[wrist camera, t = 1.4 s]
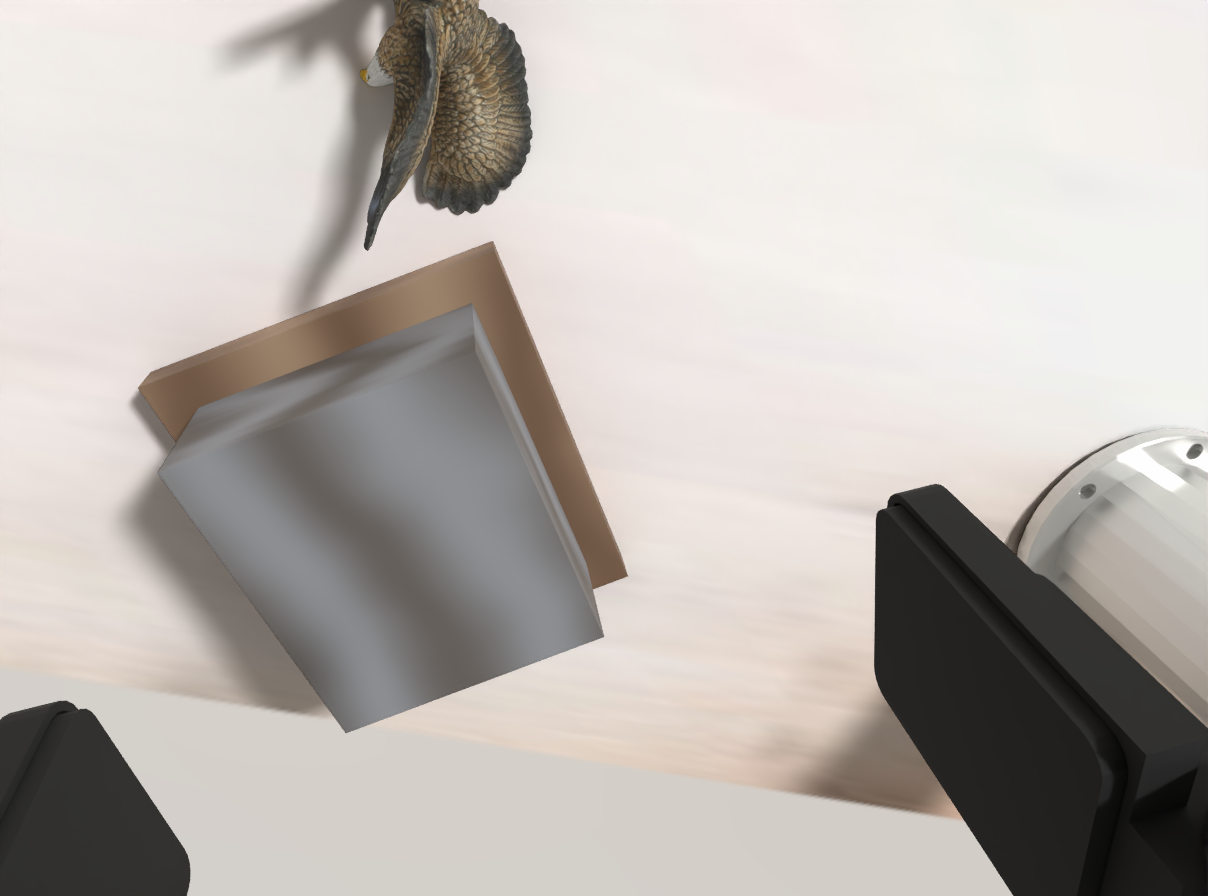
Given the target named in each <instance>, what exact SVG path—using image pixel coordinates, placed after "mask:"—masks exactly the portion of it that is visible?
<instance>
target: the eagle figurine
mask: <svg viewBox="0 0 1208 896" xmlns="http://www.w3.org/2000/svg"><path fill="white" fill-rule="evenodd" d="M393 2H394V5H395V13H396V18H395V24H394V25H393V26H391V27H390V28H389V29H388V30H387V32H386V33H385V35H384V36H383V38H382V40H381V42H380V44H379V47H378V49H377V51H376V54H375V56H374V58H373V60H372V62H371V63H370V65H369V66H368V69H366V70H361V71H360V76H361V78H362V79H363V80H364V81H365V82H367V83H368V84H369V85H370V86H386V85H389V84H392V83H393V82H394V95H395V98H394V112H393V119H392V124H391V127H390V130H389V134H388V137H387V141H386V144H385V149H384V154H383V163H382V168H381V176H380V178H379V181H378V183H377V186H376V188H375V191H374V194H373V197H372V200H371V203H370V206H369V210H368V216H367V222H368V226H367V231H366V237H365V242H364V248H365V249H366V250H367V251H368V250H369V248H370V247H371V246H372V243H373V241H374V237H375V234H376V231H377V227H378V225H379V222H380V220H381V217H382V215H383V213H384V211H385V210H386V208H387V207H388V205H389V203H390V202H391V201H392V200H393V199H394V198H395V197H396V196H397V195H398V194H399V193H400V192H401V190H402V189H403V188H404V186H405V184H406V183H407V181H408V179H409V178H410V177H411V176H412V174H413V173H414V171H415V170H416V168H417V167H418V165H419V162H420V160H421V158H422V155H423V152H424V148H425V147H426V145H427V141H428V139H429V137H430V134H431V140H432V144H431V152H430V155H429V159H428V162H427V165H426V168H425V175H424V178H423V182H422V195H423V197H425V198H427V199H430V198H432V199H433V200H434V201H435V203H436V205H437V206H438V207H440V208H442V207H446V206H450V208H451V210H452V211H453V212H454V213H456V214H462V213H463V212H464V211H465V210H466V211H468V212H469V213H476V212H477V211H479V209H480V208H481V206H482V205H483V203H487V204H492V203H493V202H494V201H495V200H496V199H497V196H498V194H499V188H500V187H501V186H502V187H504V188H507V187H509V186H510V185H511V181H512V177H513V176H517V175H519V174H520V173H521V171H522V167H523V166H524V164H525V162H526V155H527V154H528V153H529V152H530V147H531V146H530V140H531V139H532V130H531V128H530V125H531V118H530V116H531V111H530V109H529V107H528V106H527V103H528V101H529V99H528V94H527V83H526V81H525V79H524V77H525V75H526V68H525V58H524V56H523V55H522V50H521V47H520V45H519V44H518V43H517V42H516V39H515V34H514V32H513V31H512V30H510V29H509V28H508V26H507V25H506V24H505V23H502V24H498V22H497V21H496V19H494V18H493V17H489V18H487V15H486V13H485V12H484V11H483V10H480V9H478V5H479V0H393Z"/></svg>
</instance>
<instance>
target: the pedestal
mask: <svg viewBox="0 0 1208 896" xmlns="http://www.w3.org/2000/svg"><path fill="white" fill-rule="evenodd" d="M138 389H139V390H140V391H141V393H142V394H143V396H144V397H145V399H146V400H147V402H148V403H149V404H150V406H151V407H152V409H153V410H154V412H155V413H156V415H157V416H158V417H159V419H160V420H161V422H162V423H163V425H164V426H165V427H166V429H167V430H168V432H169V433H170V435H171V436H172V438H173V439H174V440H175V442H176V444H175V446H174V447H173V449H172V450H171V452H170V454H169V455H168V457H167V458H166V460H165V462H164V463H163V465H162V466H161V468H160V469H159V471H158V474H159V476H160V477H161V478H162V480H163V481H164V483H165V484H166V485H167V487H168V488H169V489H170V491H171V492H172V494H173V495H174V496H175V498H176V499H177V501H178V502H179V503H180V505H181V506H182V507H183V509H184V510H185V512H186V513H187V514H188V516H189V517H190V519H191V520H192V521H193V523H194V524H195V525H196V527H197V528H198V530H199V531H200V532H201V534H202V535H203V536H204V538H205V539H206V541H207V542H208V543H209V545H210V546H211V548H212V549H213V550H214V552H215V553H216V554H217V556H218V557H219V559H220V560H221V561H222V563H223V564H224V566H225V567H226V568H227V570H228V571H229V572H230V574H231V575H232V577H233V578H234V579H235V581H236V582H237V583H238V585H239V586H240V588H241V589H242V590H243V592H244V593H245V595H246V596H247V597H248V599H249V600H250V601H251V603H252V604H253V606H254V607H255V608H256V610H257V611H258V612H259V614H260V615H261V617H262V618H263V619H264V621H265V622H266V624H267V625H268V626H269V628H270V629H271V630H272V632H273V633H274V635H275V636H276V637H277V639H278V640H279V642H280V643H281V644H282V646H283V647H284V648H285V650H286V651H287V653H288V654H289V655H290V657H291V658H292V659H293V661H294V662H295V664H296V665H297V666H298V668H299V669H300V671H301V672H302V673H303V675H304V676H305V677H306V679H307V680H308V682H309V683H310V684H311V686H312V687H313V689H314V690H315V691H316V693H317V694H318V695H319V697H320V698H321V700H322V701H323V702H324V704H325V705H326V706H327V708H328V709H329V711H330V712H331V713H332V715H333V716H334V718H335V719H336V720H337V722H338V723H339V724H340V726H341V727H342V729H343V730H344V731H345V733H348V732H351V731H353V730H356V729H359V728H361V727H364V726H367V725H369V724H372V723H375V722H377V721H380V720H383V719H385V718H388V717H391V716H393V715H396V714H399V713H402V712H404V711H407V710H410V709H412V708H415V707H418V706H420V705H423V704H426V703H428V702H431V701H434V700H436V699H439V698H442V697H444V696H447V695H450V694H452V693H455V692H458V691H460V690H463V689H466V688H468V687H471V686H474V685H476V684H479V683H482V682H485V681H487V680H490V679H493V678H495V677H498V676H501V675H503V674H506V673H509V672H511V671H514V670H517V669H519V668H522V667H525V666H527V665H530V664H533V663H535V662H538V661H541V660H543V659H546V658H549V657H551V656H554V655H557V654H559V653H562V652H565V651H568V650H570V649H573V648H576V647H578V646H581V645H584V644H586V643H589V642H592V641H594V640H597V639H600V638H602V637H604V635H603V630H602V626H601V622H600V618H599V614H598V610H597V605H596V601H595V597H594V593H593V589H595V588H598V587H600V586H603V585H606V584H608V583H611V582H614V581H616V580H619V579H622V578H624V577H627V576H628V575H627V572H626V569H625V565H624V562H623V559H622V556H621V554H620V551H619V549H618V546H617V544H616V541H615V539H614V536H613V534H612V532H611V529H610V527H609V524H608V522H607V519H606V517H605V514H604V512H603V510H602V507H601V505H600V502H599V500H598V497H597V495H596V492H595V490H594V487H593V485H592V483H591V480H590V478H589V475H588V473H587V470H586V468H585V465H584V463H583V461H582V458H581V456H580V453H579V451H578V448H577V446H576V443H575V441H574V439H573V436H572V434H571V431H570V429H569V426H568V424H567V421H566V419H565V416H564V414H563V412H562V409H561V407H560V404H559V402H558V399H557V397H556V394H555V392H554V390H553V387H552V385H551V382H550V380H549V377H548V375H547V372H546V370H545V367H544V365H543V363H542V360H541V358H540V355H539V353H538V350H537V348H536V345H535V343H534V341H533V338H532V336H531V333H530V331H529V328H528V326H527V323H526V321H525V318H524V316H523V314H522V311H521V309H520V306H519V304H518V301H517V299H516V296H515V294H514V292H513V289H512V287H511V284H510V282H509V279H508V277H507V274H506V272H505V270H504V267H503V265H502V262H501V260H500V257H499V255H498V252H497V250H496V247H495V245H494V243H493V241H492V242H489V243H486V244H484V245H481V246H479V247H476V248H473V249H471V250H468V251H465V252H463V253H460V254H458V255H455V256H452V257H450V258H447V259H445V260H442V261H439V262H437V263H434V264H432V265H429V266H426V267H424V268H421V269H419V270H416V271H413V272H411V273H408V274H405V275H403V276H400V277H398V278H395V279H392V280H390V281H387V282H385V283H382V284H379V285H377V286H374V287H372V288H369V289H366V290H364V291H361V292H359V293H356V294H353V295H351V296H348V297H346V298H343V299H340V300H338V301H335V302H332V303H330V304H327V305H325V306H322V307H319V308H317V309H314V310H312V311H309V312H306V313H304V314H301V315H299V316H296V317H293V318H291V319H288V320H286V321H283V322H280V323H278V324H275V325H272V326H270V327H267V328H265V329H262V330H259V331H257V332H254V333H252V334H249V335H246V336H244V337H241V338H239V339H236V340H233V341H231V342H228V343H226V344H223V345H220V346H218V347H215V348H212V349H210V350H207V351H205V352H202V353H199V354H197V355H194V356H192V357H189V358H186V359H184V360H181V361H179V362H176V363H173V364H171V365H168V366H166V367H163V368H160V369H158V370H155V371H153V372H151V373H150V374H149V375H148V376H147V377H146V379H145V380H144V381H143V382H142V384H141V385H140V386H139V387H138Z"/></svg>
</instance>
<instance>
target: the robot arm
mask: <svg viewBox="0 0 1208 896" xmlns="http://www.w3.org/2000/svg"><path fill="white" fill-rule="evenodd" d="M874 669H875V675H876V680H877V683H878V686H879V688H880V690H881V693H882V695H883V696H884V698H885V700H886V701H887V703H888V704H889V706H890V707H891V709H892V710H893V712H894V713H895V715H896V717H897V718H898V720H899V721H900V723H901V724H902V726H903V727H904V729H905V730H906V732H907V733H908V735H909V736H910V738H911V740H912V741H913V743H914V744H915V746H916V747H917V749H918V750H919V752H920V753H921V755H922V756H923V758H924V759H925V761H926V763H927V764H928V766H929V767H930V769H931V770H932V772H933V773H934V775H935V776H936V778H937V779H938V781H939V782H940V784H941V786H942V787H943V789H944V790H945V792H946V793H947V795H948V796H949V798H950V799H951V801H952V802H953V804H954V805H955V807H956V808H957V810H958V812H959V813H960V815H961V816H962V818H963V819H964V821H965V822H966V824H967V825H968V827H969V828H970V830H971V831H972V833H973V835H974V836H975V837H976V839H977V841H978V842H979V844H980V845H981V847H982V848H983V850H984V851H985V853H986V854H987V856H988V858H989V859H990V861H991V862H992V864H993V865H994V867H995V868H996V870H997V871H998V873H999V874H1000V876H1001V877H1002V879H1003V880H1004V882H1005V884H1006V885H1007V887H1008V888H1009V890H1010V891H1011V893H1012V894H1013V896H1208V434H1207V433H1204V432H1201V431H1196V430H1191V429H1186V428H1171V429H1159V430H1154V431H1149V432H1144V433H1139V434H1137V435H1134V436H1131V437H1129V438H1126V439H1123V440H1121V441H1118V442H1116V443H1114V444H1112V445H1110V446H1108V447H1106V448H1104V449H1103V450H1101V451H1099V452H1097V453H1095V454H1093V455H1092V456H1090V457H1089V458H1088V459H1086V460H1085V461H1084V462H1082V463H1081V464H1079V465H1078V466H1077V467H1075V468H1074V469H1073V470H1071V471H1070V472H1069V473H1068V474H1067V475H1066V476H1065V477H1064V478H1063V479H1062V480H1061V481H1060V482H1059V483H1058V484H1057V485H1055V486H1054V487H1053V489H1052V490H1051V491H1050V492H1049V494H1048V495H1047V496H1046V497H1045V499H1044V500H1043V501H1042V502H1041V503H1040V505H1039V506H1038V508H1037V509H1036V511H1035V513H1034V514H1033V516H1032V518H1031V519H1030V521H1029V523H1028V524H1027V526H1026V529H1025V531H1024V534H1023V536H1022V539H1021V541H1020V544H1019V547H1018V552H1017V556H1016V555H1015V554H1014V553H1013V552H1012V551H1011V550H1010V549H1009V548H1008V547H1007V546H1006V545H1005V544H1004V543H1003V542H1002V541H1001V540H1000V539H999V538H998V537H996V536H995V535H994V534H993V533H992V532H991V531H990V530H989V529H988V528H987V527H986V526H985V525H984V524H983V523H982V522H981V521H980V520H979V519H978V518H977V517H975V516H974V515H973V514H972V513H971V512H970V511H969V510H968V509H967V508H966V507H965V506H964V505H963V504H962V503H961V502H960V501H959V500H958V499H957V498H956V497H955V496H953V495H952V494H951V493H950V492H949V491H948V490H947V489H946V488H945V487H943V486H942V485H939V484H933V485H929V486H925V487H921V488H917V489H913V490H909V491H905V492H901V493H897V494H894V495H892V496H890V498H889V500H888V505H887V508H886V509H882V510H880V511H878V513H877V516H876V558H875V644H874ZM189 882H190V863H189V859H188V855H187V853H186V851H185V849H184V848H183V846H182V845H181V843H180V842H179V840H178V839H177V837H176V836H175V834H174V833H173V831H172V830H171V828H170V827H169V825H168V824H167V823H166V821H165V819H164V818H163V816H162V815H161V813H160V812H159V810H158V809H157V807H156V806H155V804H154V803H153V802H152V800H151V799H150V797H149V795H148V794H147V792H146V791H145V789H144V788H143V787H142V785H141V784H140V782H139V781H138V779H137V778H136V776H135V775H134V773H133V772H132V770H131V769H130V767H129V766H128V764H127V763H126V761H125V760H124V758H123V757H122V755H121V754H120V752H119V751H118V749H117V748H116V746H115V745H114V743H113V742H112V740H111V739H110V737H109V736H108V734H107V733H106V731H105V730H104V728H103V727H102V725H101V724H100V722H99V721H98V719H97V718H96V716H95V715H94V714H93V713H92V712H91V711H89V710H87V709H80V710H78V709H77V708H76V707H75V705H74V704H72V703H70V702H68V701H58V702H53V703H49V704H45V705H41V706H37V707H33V708H29V709H25V710H21V711H17V712H13V713H9V714H8V715H6V716H4V717H2V719H1V720H0V896H187V892H188V888H189Z"/></svg>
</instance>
